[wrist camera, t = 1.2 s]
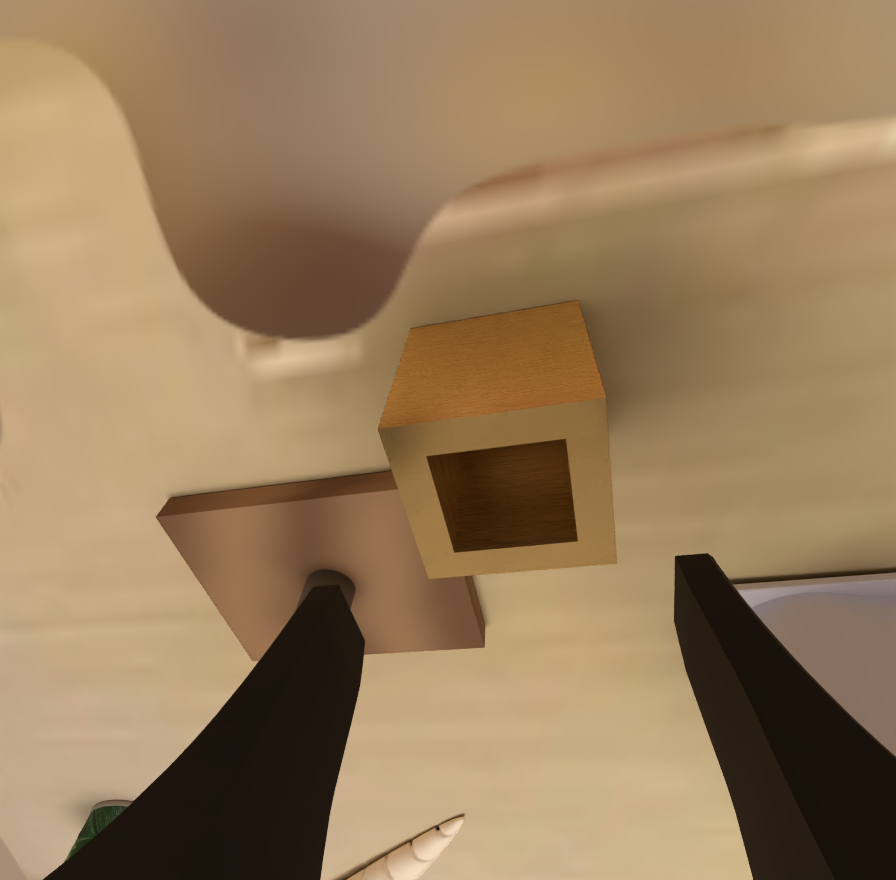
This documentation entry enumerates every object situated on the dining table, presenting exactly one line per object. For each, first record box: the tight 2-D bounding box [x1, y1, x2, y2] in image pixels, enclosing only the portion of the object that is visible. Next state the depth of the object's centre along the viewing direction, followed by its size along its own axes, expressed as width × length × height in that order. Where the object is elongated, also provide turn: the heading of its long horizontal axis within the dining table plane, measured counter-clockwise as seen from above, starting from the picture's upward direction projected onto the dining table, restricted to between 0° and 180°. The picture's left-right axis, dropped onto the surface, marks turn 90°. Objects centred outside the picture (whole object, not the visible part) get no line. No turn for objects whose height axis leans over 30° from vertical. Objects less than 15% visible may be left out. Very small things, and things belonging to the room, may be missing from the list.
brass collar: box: [378, 301, 617, 579], centre depth 17 cm, size 6×6×6 cm
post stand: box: [156, 471, 485, 661], centre depth 24 cm, size 12×10×4 cm
